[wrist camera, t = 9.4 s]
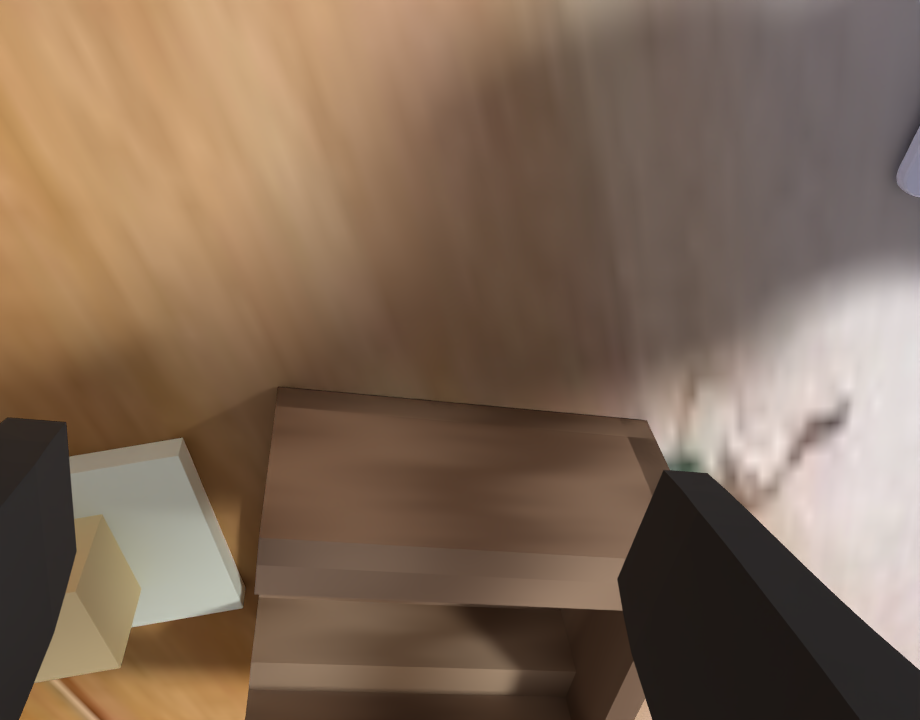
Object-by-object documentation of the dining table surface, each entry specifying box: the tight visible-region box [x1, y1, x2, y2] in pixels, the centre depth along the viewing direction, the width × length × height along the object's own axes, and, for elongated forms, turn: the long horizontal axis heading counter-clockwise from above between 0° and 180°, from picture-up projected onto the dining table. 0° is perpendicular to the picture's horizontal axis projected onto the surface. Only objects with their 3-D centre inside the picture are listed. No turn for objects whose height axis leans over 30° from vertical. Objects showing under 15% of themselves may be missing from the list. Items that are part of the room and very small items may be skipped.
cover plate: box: [34, 438, 246, 683], centre depth 22 cm, size 8×6×4 cm
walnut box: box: [245, 387, 670, 720], centre depth 22 cm, size 10×9×5 cm
